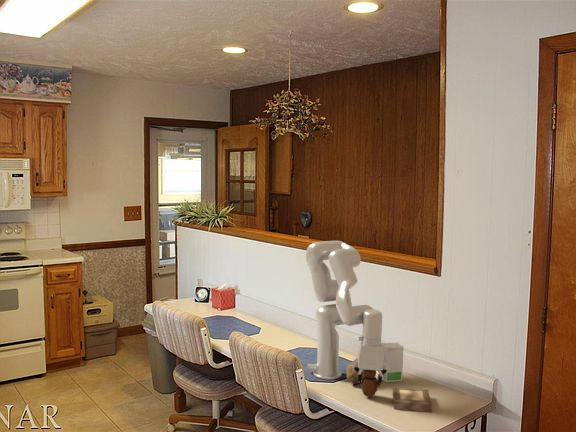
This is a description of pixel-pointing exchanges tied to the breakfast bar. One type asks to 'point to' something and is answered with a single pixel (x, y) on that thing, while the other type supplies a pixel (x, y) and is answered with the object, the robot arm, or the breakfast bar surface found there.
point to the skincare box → (393, 361)
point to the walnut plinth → (412, 399)
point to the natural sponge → (353, 373)
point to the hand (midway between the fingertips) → (369, 383)
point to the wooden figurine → (369, 383)
